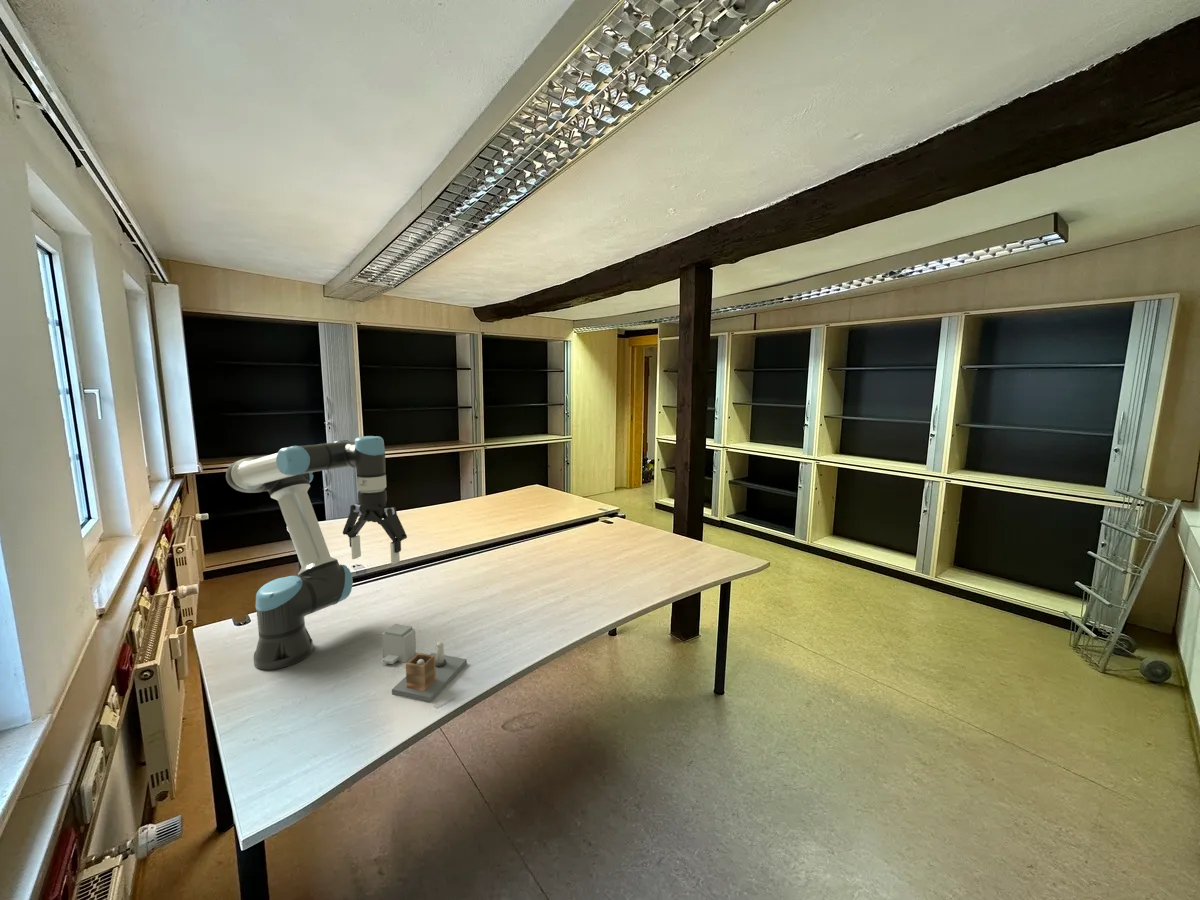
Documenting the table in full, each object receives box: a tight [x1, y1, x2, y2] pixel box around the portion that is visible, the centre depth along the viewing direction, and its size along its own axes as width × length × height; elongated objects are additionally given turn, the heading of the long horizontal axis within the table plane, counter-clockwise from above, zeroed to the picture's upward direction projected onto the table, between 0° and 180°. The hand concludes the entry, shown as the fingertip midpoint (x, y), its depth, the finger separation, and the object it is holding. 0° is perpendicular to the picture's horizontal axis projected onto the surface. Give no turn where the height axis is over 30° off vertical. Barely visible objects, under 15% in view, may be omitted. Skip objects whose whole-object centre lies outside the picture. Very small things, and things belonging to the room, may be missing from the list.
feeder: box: [381, 623, 417, 665], centre depth 141 cm, size 8×8×9 cm
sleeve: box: [405, 652, 436, 691], centre depth 127 cm, size 5×5×7 cm
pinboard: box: [391, 641, 468, 703], centre depth 132 cm, size 12×18×8 cm, turn 165°
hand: (375, 560), depth 136 cm, fingers open, 13 cm apart
